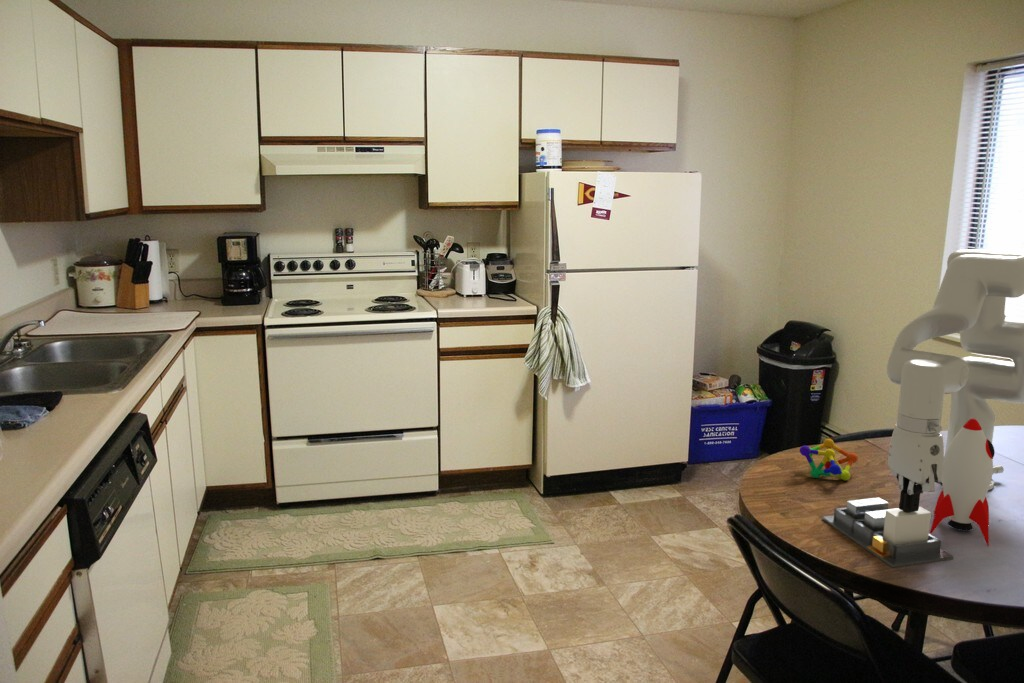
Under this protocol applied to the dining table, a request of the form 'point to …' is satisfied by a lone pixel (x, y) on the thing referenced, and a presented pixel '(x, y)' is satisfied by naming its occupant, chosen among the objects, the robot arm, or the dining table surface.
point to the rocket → (966, 481)
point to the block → (906, 526)
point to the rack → (867, 530)
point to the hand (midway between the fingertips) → (908, 510)
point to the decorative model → (829, 460)
